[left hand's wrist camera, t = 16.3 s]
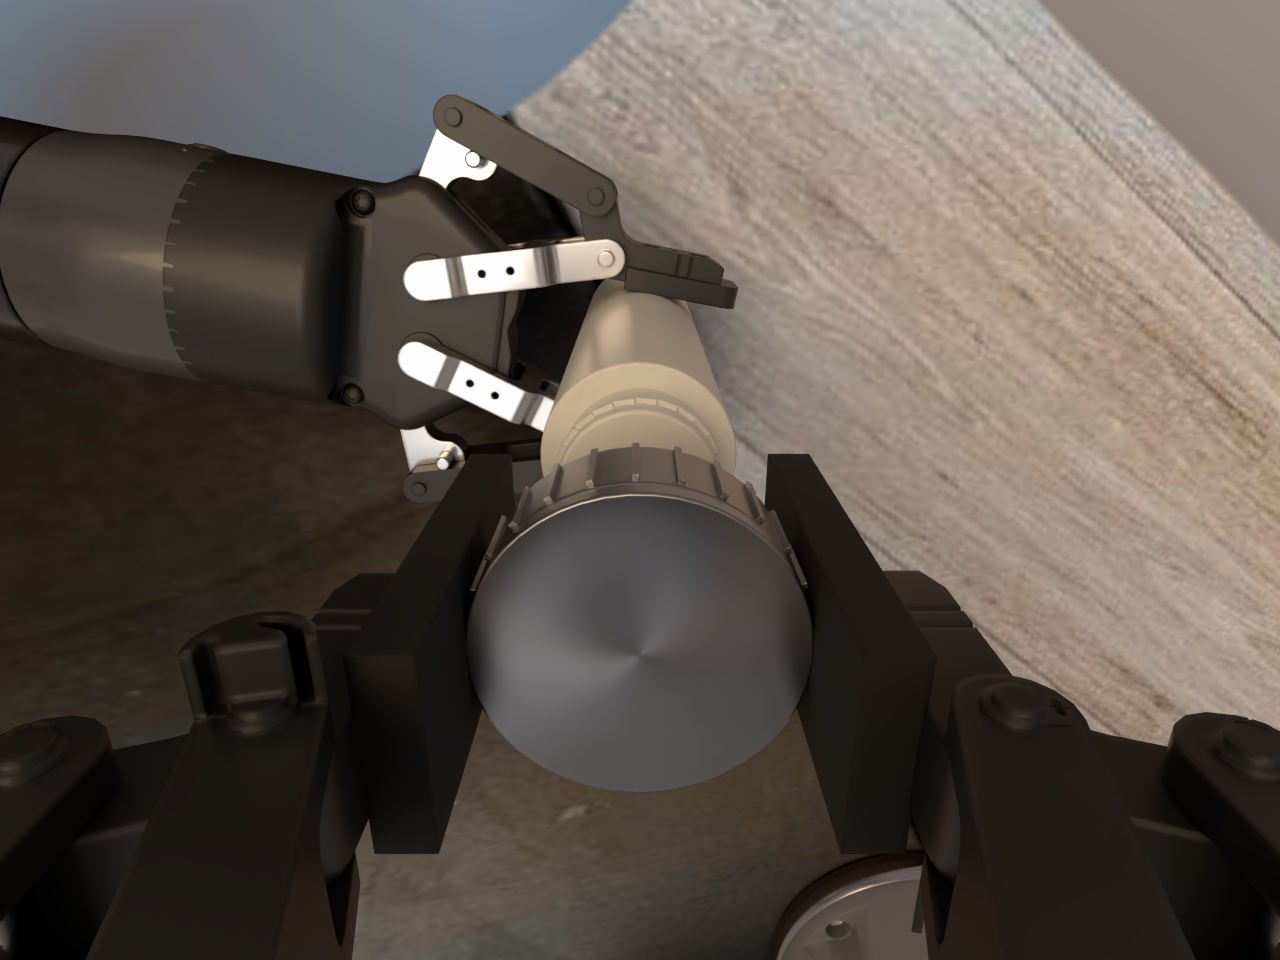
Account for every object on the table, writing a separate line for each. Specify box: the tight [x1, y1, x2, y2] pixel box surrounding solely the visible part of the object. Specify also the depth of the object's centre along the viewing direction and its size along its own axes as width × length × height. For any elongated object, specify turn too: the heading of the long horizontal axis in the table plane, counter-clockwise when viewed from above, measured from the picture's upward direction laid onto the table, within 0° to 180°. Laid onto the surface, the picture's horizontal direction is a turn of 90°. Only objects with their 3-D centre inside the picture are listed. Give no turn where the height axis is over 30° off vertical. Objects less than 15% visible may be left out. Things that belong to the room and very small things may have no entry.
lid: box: [465, 443, 814, 792], centre depth 11 cm, size 5×5×2 cm
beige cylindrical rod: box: [541, 278, 736, 477], centre depth 24 cm, size 4×4×19 cm
